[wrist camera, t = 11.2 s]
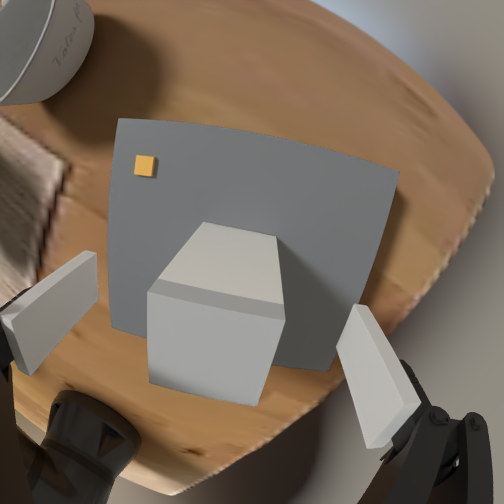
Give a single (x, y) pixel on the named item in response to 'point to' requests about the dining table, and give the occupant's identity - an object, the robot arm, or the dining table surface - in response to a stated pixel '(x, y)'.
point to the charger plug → (217, 315)
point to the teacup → (41, 47)
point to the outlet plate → (247, 221)
